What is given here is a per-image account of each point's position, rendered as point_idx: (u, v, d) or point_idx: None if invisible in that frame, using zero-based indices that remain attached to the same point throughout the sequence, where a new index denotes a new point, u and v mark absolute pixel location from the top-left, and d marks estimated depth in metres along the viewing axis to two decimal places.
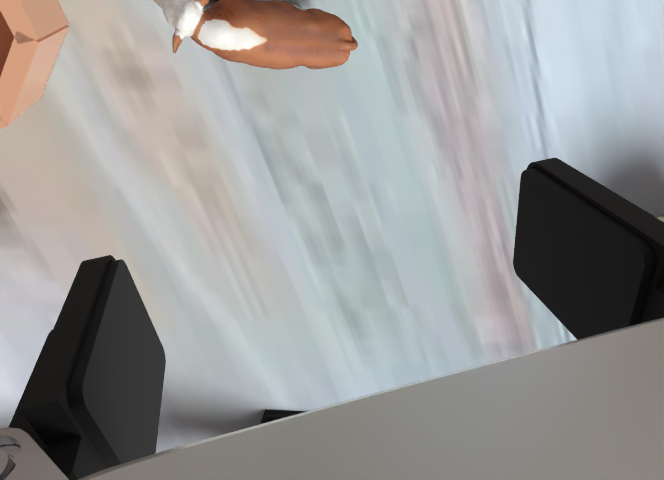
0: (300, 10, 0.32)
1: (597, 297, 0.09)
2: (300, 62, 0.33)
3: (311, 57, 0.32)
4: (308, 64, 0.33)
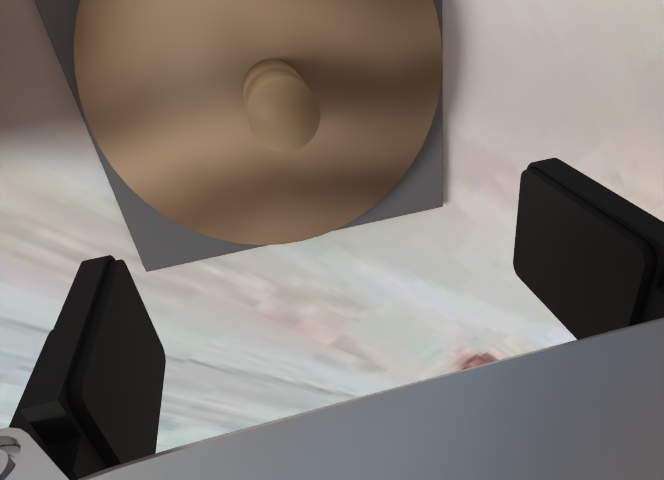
0: None
1: (597, 297, 0.09)
2: None
3: None
4: None
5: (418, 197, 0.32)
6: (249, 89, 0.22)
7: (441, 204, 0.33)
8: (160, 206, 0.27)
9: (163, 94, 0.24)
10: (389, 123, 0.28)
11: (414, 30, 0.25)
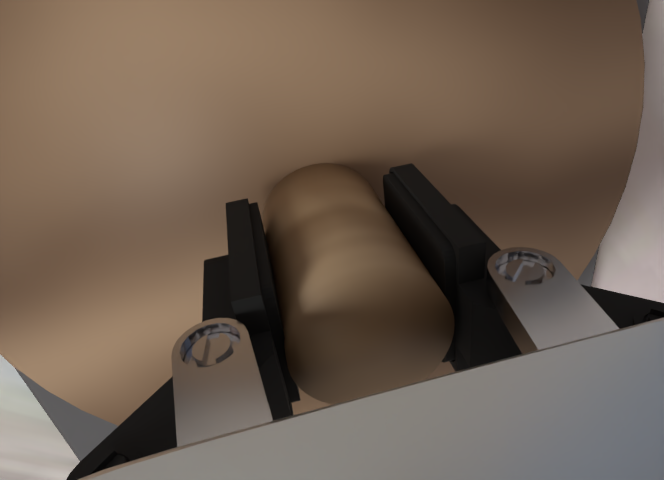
0: None
1: None
2: None
3: None
4: None
5: None
6: (284, 262, 0.10)
7: None
8: (111, 414, 0.15)
9: (103, 239, 0.12)
10: None
11: (597, 100, 0.13)
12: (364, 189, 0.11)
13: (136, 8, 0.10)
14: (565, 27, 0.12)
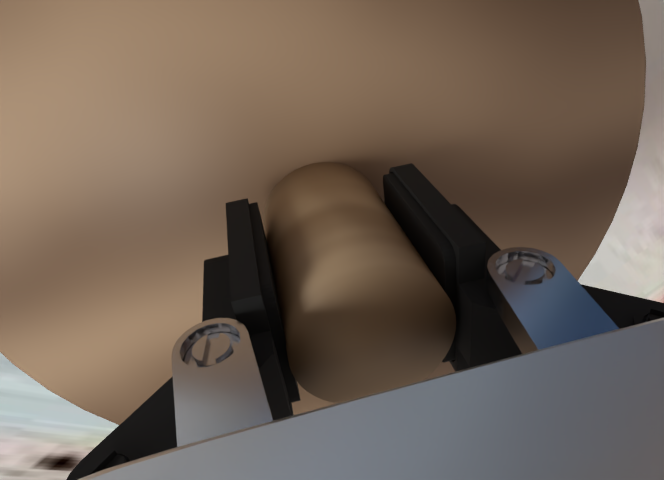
0: None
1: None
2: None
3: None
4: None
5: None
6: (285, 260, 0.10)
7: None
8: (112, 413, 0.15)
9: (104, 238, 0.12)
10: None
11: (598, 98, 0.13)
12: (365, 188, 0.11)
13: (138, 6, 0.10)
14: (566, 26, 0.12)
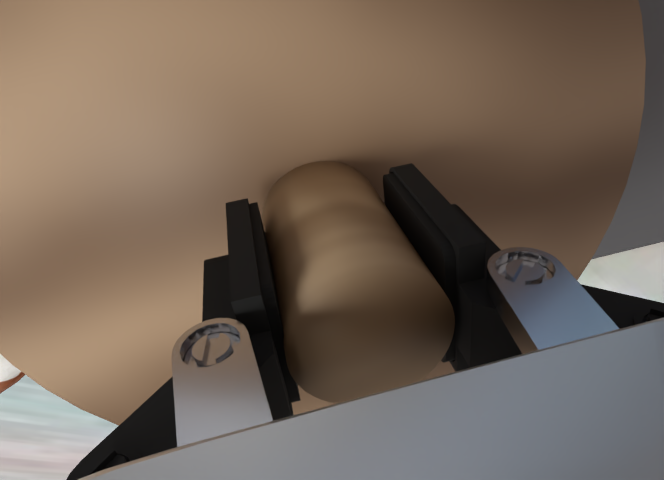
0: None
1: None
2: None
3: None
4: None
5: None
6: (283, 260, 0.10)
7: None
8: (111, 413, 0.15)
9: (102, 237, 0.12)
10: None
11: (598, 97, 0.13)
12: (364, 187, 0.11)
13: (135, 4, 0.10)
14: (566, 24, 0.12)
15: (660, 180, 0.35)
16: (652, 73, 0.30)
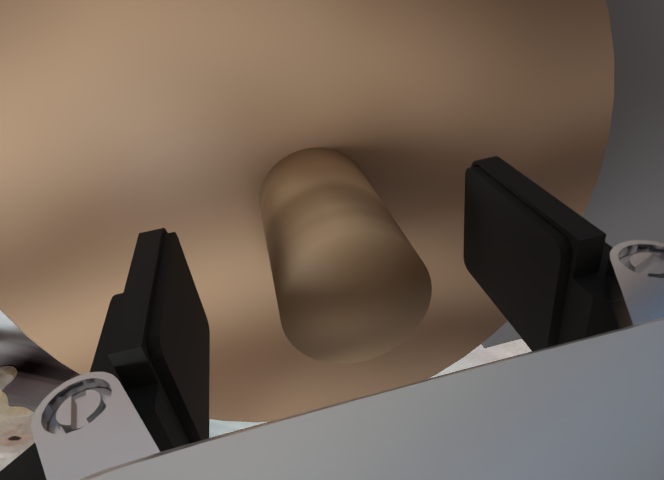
0: None
1: (527, 289, 0.10)
2: None
3: None
4: None
5: None
6: (278, 233, 0.11)
7: None
8: None
9: (113, 217, 0.13)
10: None
11: (571, 89, 0.14)
12: (353, 170, 0.12)
13: (145, 3, 0.11)
14: (539, 21, 0.13)
15: None
16: None
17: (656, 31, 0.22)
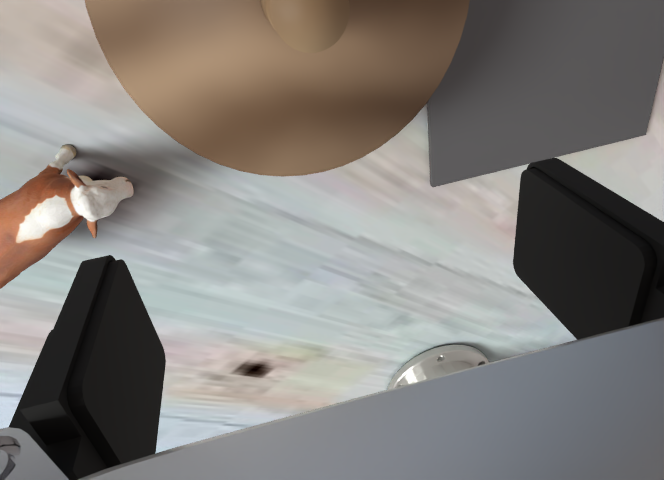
0: (26, 268, 0.31)
1: (597, 297, 0.09)
2: None
3: None
4: None
5: (630, 126, 0.42)
6: None
7: (645, 133, 0.42)
8: (175, 132, 0.26)
9: (175, 2, 0.23)
10: (416, 37, 0.26)
11: None
12: None
13: None
14: None
15: (620, 78, 0.39)
16: None
17: None
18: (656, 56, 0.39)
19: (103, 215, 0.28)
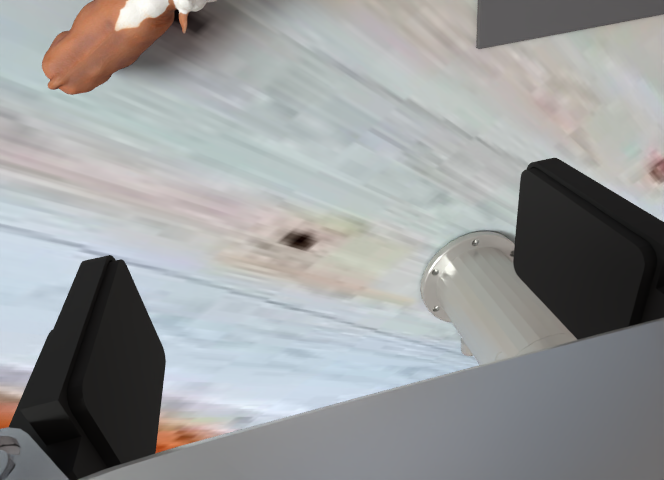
0: (115, 71, 0.33)
1: (597, 297, 0.09)
2: (73, 34, 0.31)
3: (70, 47, 0.31)
4: (66, 38, 0.31)
5: None
6: None
7: None
8: None
9: None
10: None
11: None
12: None
13: None
14: None
15: None
16: None
17: None
18: None
19: (196, 5, 0.31)
